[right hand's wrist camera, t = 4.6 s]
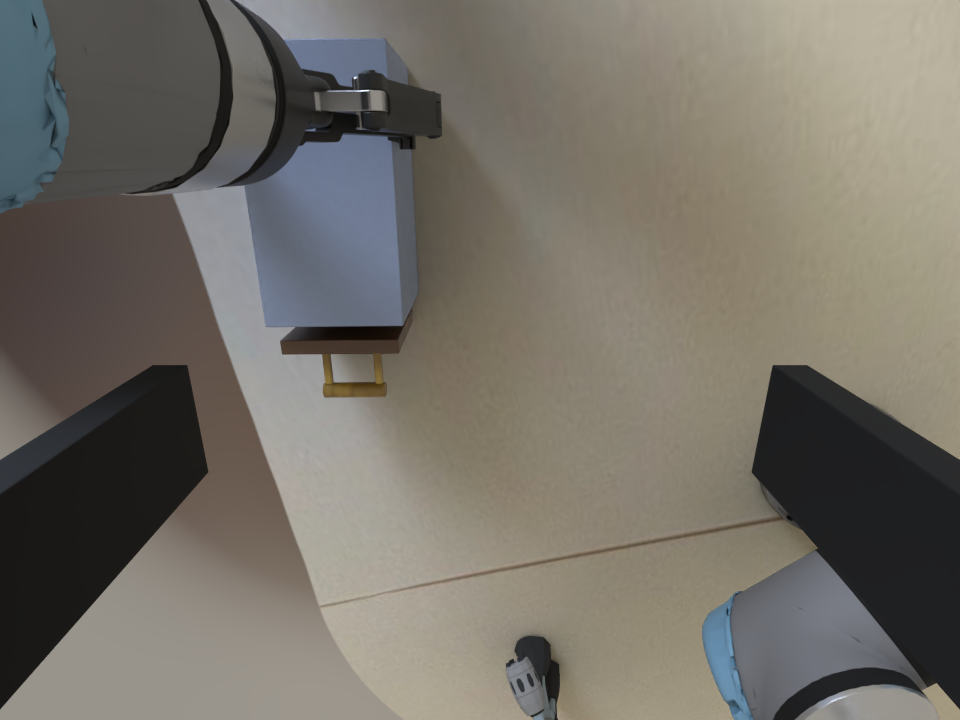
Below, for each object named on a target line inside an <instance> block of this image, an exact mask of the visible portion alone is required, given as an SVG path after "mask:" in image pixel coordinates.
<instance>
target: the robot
mask: <svg viewBox="0 0 960 720" xmlns="http://www.w3.org/2000/svg"><path fill="white" fill-rule="evenodd" d="M515 653H516V655H517V657H518V658H517V661H515V662H514V659H512V660H510V661H509V663H506V671H507V678H508V681H509V684H510V687H511V689H512V692H513V694H514V697H515V698H516V701H517V702H518V704H519V706H520V708H521V709H522V710H523V711H524V712H525V714H526V715H527V716H531V717H533V720H558V719H557V708H556V703H557V699H558V695H559V688H560V673H559V664H557V663H555V662H554V661H552V660H550V659H551V653H550V644H549V643H548V642H547V641H546V640H545V639H544V638H543V637H533V636H529V637H524V638H522V639H521V640H519V641H518V642H517V645H516V648H515Z"/></svg>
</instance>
